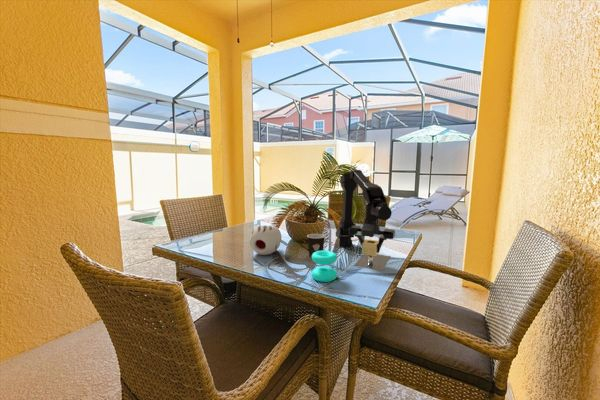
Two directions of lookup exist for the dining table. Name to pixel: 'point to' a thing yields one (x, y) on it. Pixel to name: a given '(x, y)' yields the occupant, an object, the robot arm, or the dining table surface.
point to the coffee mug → (314, 243)
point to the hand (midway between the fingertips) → (370, 251)
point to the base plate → (373, 262)
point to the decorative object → (265, 239)
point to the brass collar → (370, 247)
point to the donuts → (323, 272)
